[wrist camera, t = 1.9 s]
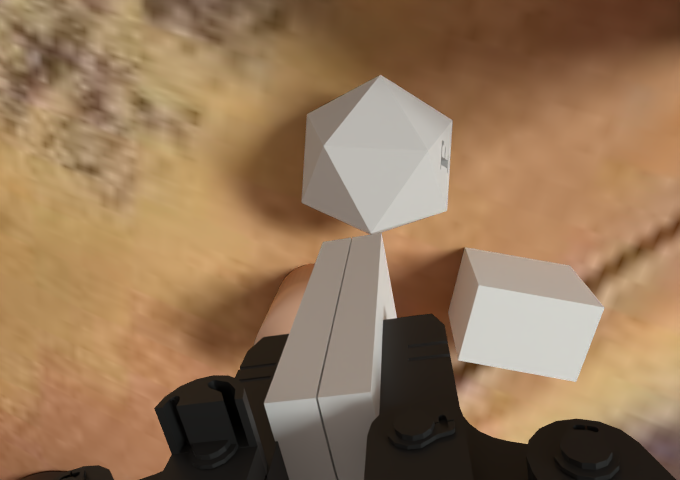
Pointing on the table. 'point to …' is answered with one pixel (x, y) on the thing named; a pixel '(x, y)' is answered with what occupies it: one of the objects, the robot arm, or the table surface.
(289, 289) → the beige rounded smooth part
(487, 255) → the grey block
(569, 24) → the table surface
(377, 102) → the die
